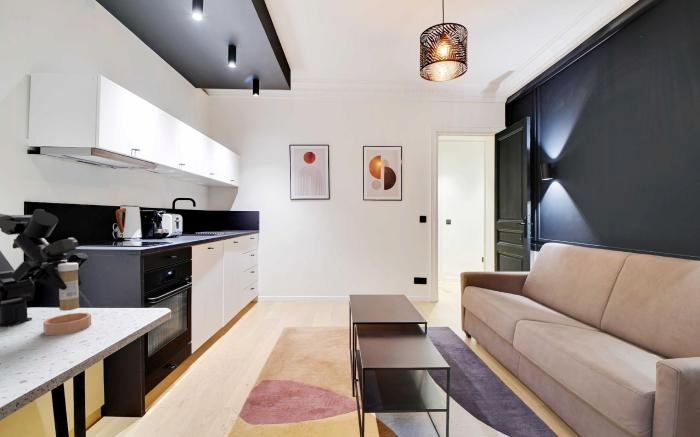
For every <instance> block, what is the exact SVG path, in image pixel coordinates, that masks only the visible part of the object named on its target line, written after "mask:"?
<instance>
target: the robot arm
mask: <svg viewBox="0 0 700 437" xmlns="http://www.w3.org/2000/svg"><path fill="white" fill-rule="evenodd" d="M58 223H59V218H58V217H57V216H56V215H54V214H53V213H50V212H47V211H45V209H44V208H43V209H41V208H40V209H39V208H38V209H37V208H36V209H34V211H33V213H32V214H22V215H21V214H20V215H19V214H17V215H16V214H15V215H14V214H12V215H11V214H6V213H5V214H4V213H0V232H2V233H4V234H5V235H8V236H13V235H14V236H15V235H16V238H15V239H14V238H13V243H12V249H18V248H19V249H20V250H21V251H22V252H23V254H25V255H26V257H25V261H22V262H21V263H20V264H19V265H18V266H17V267H16V269H15V268H14V267H13V266H12V265H11V263H10V262H9V261H8V259H7V257H6V256H5V255H4V254H3V253H2V251H1V250H0V327H13V326H15V325H18V324H20V323H24V322H29V321H32V320H33V317H28V306H27V302H28V301H33V300H34V298H35V292H36V291H35V290H36V283H35V282H37V283H40V284H44V285H48V286H51V287H54V288H57V289H58V290H59V289H62V290H65V289H66V288H67V286H66V285H65V283H64V282H63V281H62V279H61V278H60V277H59V274H58V273H57V272H56V270H58V265H59V264H63V263H78V270H80V269H81V268H82V267H83V266H84V265H85V263H87V261H89V259H90V257H89V255H88V254H87V253H86V252H79V253H78V252H77V253H73V254H70V256H68V254H67V253H69V252H70V251H71V252H72V251H74V250H76V249H77V248H78V247H79V242H78V240H77V239H76V238H74V237H67V238H65V239H59V240H56V241H54V242H52V243H50V242H48V241H47V240H46V238H48V237H50V235H51V233H52V232H53V231H54V229H55V227H56V225H57V224H58ZM67 256H68V257H67ZM66 257H67V259H64V258H66ZM29 274H31V275H32V276H33V277H31V276H30V275H29ZM81 280H82V279H81V278H80V274H79V272H78V286H79V287H80V286H81V285H82V281H81Z"/></svg>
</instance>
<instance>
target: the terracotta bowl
mask: <svg viewBox="0 0 700 437" xmlns="http://www.w3.org/2000/svg"><path fill="white" fill-rule="evenodd" d="M91 325H92V314H91V313H89V312H74V313H67V314H62V315H61V314H60V315H57V316H54V317H50V318H47V319H46V320H44V321H43V334H44V335H45V336H59V335H67V334H71V333H76V332H80V331H83V330H85V329H87V327H88V328H89V327H90V326H91Z"/></svg>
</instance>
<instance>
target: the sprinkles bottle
mask: <svg viewBox="0 0 700 437" xmlns="http://www.w3.org/2000/svg"><path fill="white" fill-rule="evenodd" d="M57 272H58V276H59V277H60V278H61V279H62V281H63V282H64V283H65V285H66V286H67V288H66V289H65V290H62V289H59V288H58V297H59V310H60V311H63V312H65V311H73V310H77V309H79V308H80V302H79V301H80V300H79V299H80V298H79V297H80V290H79V288H80V286H78V273H79V269H78V263H63V264H59V265H58V269H57Z"/></svg>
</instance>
